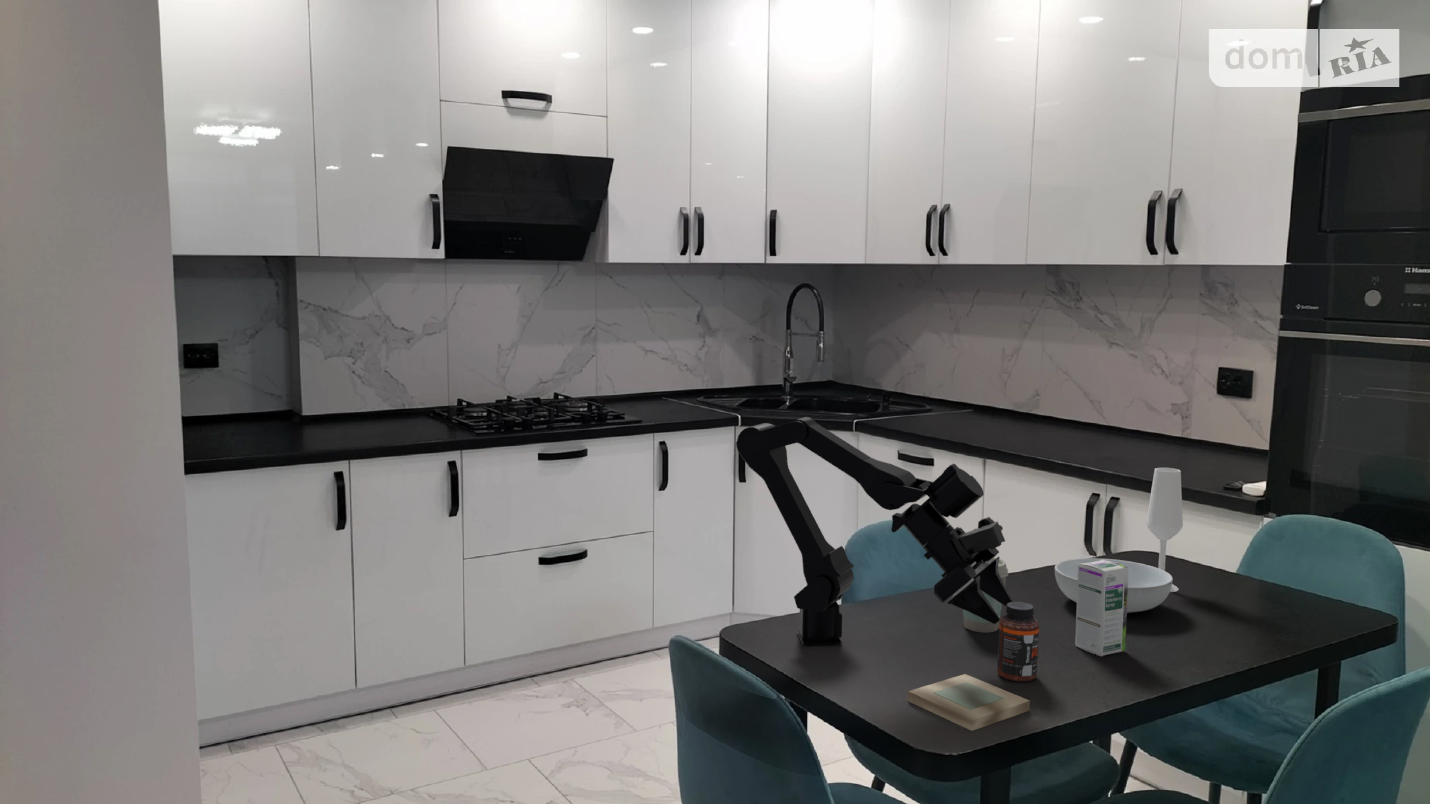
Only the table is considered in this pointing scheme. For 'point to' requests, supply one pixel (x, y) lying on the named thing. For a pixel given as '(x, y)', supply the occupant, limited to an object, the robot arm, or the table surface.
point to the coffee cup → (981, 624)
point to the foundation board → (968, 701)
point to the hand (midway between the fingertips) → (1004, 613)
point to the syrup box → (1101, 607)
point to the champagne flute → (1165, 509)
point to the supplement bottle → (1018, 643)
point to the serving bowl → (1143, 582)
